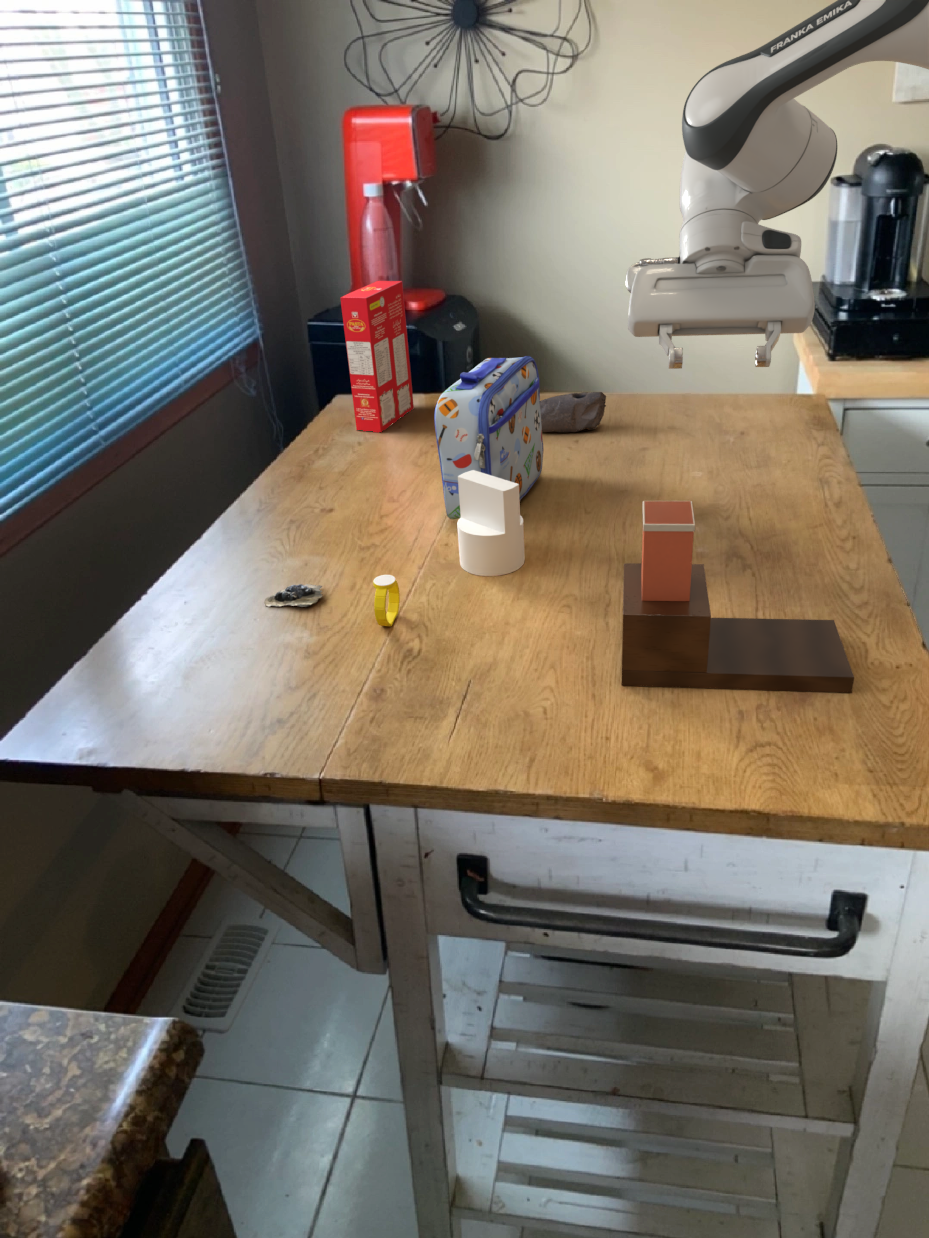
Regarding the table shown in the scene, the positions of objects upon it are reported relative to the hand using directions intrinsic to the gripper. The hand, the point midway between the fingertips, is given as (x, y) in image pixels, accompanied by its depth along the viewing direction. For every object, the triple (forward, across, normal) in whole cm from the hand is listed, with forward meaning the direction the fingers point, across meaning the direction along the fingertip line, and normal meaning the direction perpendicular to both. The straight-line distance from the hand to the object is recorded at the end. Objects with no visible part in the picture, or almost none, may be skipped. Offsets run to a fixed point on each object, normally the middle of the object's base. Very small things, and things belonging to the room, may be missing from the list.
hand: (719, 365), depth 107 cm
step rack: (+31, +2, +11) cm, 33 cm away
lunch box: (-1, -30, +43) cm, 52 cm away
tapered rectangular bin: (+24, -5, +4) cm, 25 cm away
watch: (+26, -39, +16) cm, 49 cm away
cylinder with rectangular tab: (+14, -28, +28) cm, 42 cm away
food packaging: (-30, -57, +72) cm, 96 cm away
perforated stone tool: (-24, -21, +66) cm, 73 cm away
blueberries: (+23, -53, +19) cm, 61 cm away
